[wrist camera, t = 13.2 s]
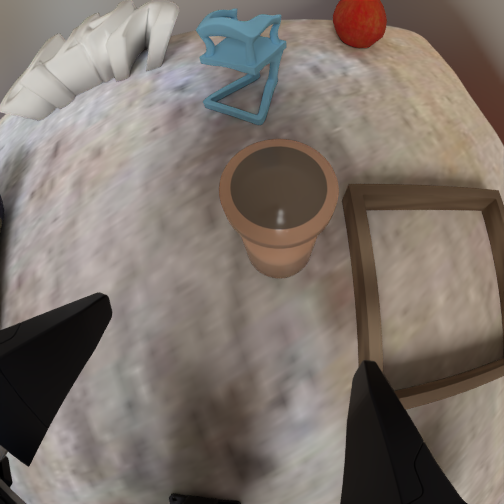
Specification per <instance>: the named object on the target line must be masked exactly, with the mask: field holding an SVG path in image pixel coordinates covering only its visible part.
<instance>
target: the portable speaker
mask: <svg viewBox="0 0 504 504" xmlns="http://www.w3.org/2000/svg"><path fill="white" fill-rule="evenodd" d="M3 218H4V206H3V202H2V198H1V195H0V231H1V226H2V222H3Z"/></svg>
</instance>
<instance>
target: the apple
mask: <svg viewBox="0 0 504 504" xmlns="http://www.w3.org/2000/svg"><path fill="white" fill-rule="evenodd" d="M386 22H387V19H386V14H385V10H384V7H383V5H382V3H381V1H380V0H340V1H339V3H338V4H337V6H336V9H335V11H334V14H333V23H334V26H335V29H336V32H337V34H338V36H339V37H340V39H341V40H342V41H343V42H344V43H346V44H347V45H350V46H352V47H357V48H367V47H370V46H371V45H372V44H374V43H375V42H376V41H378V40H379V39H381V38H382V37H383V35H384V33H385V29H386Z"/></svg>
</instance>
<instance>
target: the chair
mask: <svg viewBox="0 0 504 504" xmlns="http://www.w3.org/2000/svg"><path fill="white" fill-rule="evenodd" d="M225 17H228V18H225ZM229 18H231V19H229ZM280 22H281V15H274V16H270V15H264V14H262V15H258V16H256V17H254V18H253V19H251V20H249V21H238V19H237V9H232V10H218V11H214V12H212V13H210V14H208V15H207V16H206V17H205V18H204V19H203V20H202V22H201V23H200V24H199V26H198V28H197V29H196V31H197V33H198V34H199V36H200V37H201V39H202V40H203V41H204V43H205V44H206V53H204V54H203V55H202V56H200V61H201V64H207V65H213V66H222V67H227V68H231V69H235V70H238V71H240V72H243V73H247V75H245V76H244V77H242V78H240V79H238V80H236V81H234V82H233V83H231V84H229V85H227V86H225V87H223V88H222V89H220V90H218V91H216V92H215V93H213V94H211V95H210V96H208V97H207V98H206V99H205V100H204V101H203V103H204V105H205V107H206V108H208V109H211V110H215V111H218V112H221V113H224V114H227V115H230V116H233V117H236V118H239V119H242V120H245V121H248V122H251V123H254V124H256V125H262V124H263V123H264V121H265V119H266V116H267V113H268V109H269V106H270V102H271V99H272V95H273V92H274V89H275V86H276V84H277V82H278V78H277V74H278V69H279V64H280V60H281V56H282V53H283V50H284V49H285V48H286V41H284V40H279V38H278V29H279V26H280ZM272 24H273V26H272V28H271V31H270V38H268V37H262V36H260V35H261V33H262V32H263V31H264V30H265V29H266V28H267V27H268V26H270V25H272ZM208 36H224V37H226V38H225V39H224V40H223V41H221V42H220V43H219V44H217V45H216V46H215V45H214V43H213V41H212V40H211V39H210V38H209V37H208ZM269 63H270V70H269V76H268V80H267V82H266V85H265V89H264V93H263V97H262V101H261V105H260V109H259V113H258V114H257V115H255V114H252V113H249V112H246V111H243V110H240V109H237V108H234V107H231V106H228V105H224V104H221V103H218V102H216V101H218V100H220V99H222V98H224V97H225V96H227V95H229V94H231V93H233V92H235V91H237V90H239V89H241V88H242V87H244V86H246V85H248V84H250V83H252V82H254V81H255V80H257V79H258V78H259V77H260V72H259V71H260V70H262V69H263V67H264V66H266V65H268V64H269Z"/></svg>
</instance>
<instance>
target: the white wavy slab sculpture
mask: <svg viewBox="0 0 504 504" xmlns="http://www.w3.org/2000/svg"><path fill="white" fill-rule="evenodd" d="M178 14H179V7H178V5H177V4H175V3H174V2H171V1H167V0H151V1H149V2H147V3H145V4H144V5H142V6H140V7H139V8H136V7H135V5H134V4H133V0H125V1H123V2H120V3H119V4H118V5H117V7H116V8H115V9H114V11H112V12H109V13H107V14H105V15H103V16H101V17H100V15H99V13H98V14H97V13H96V14H93V15H92V16H89V17H88V18H86V19H85V20H84V21H83V22H82V24H81V25H80V26H78V27H77V28H75V29H73V31H72V33H71V35H70V36H69V38H68V39H67V41H65V39H64V38H63V37H62V35H61V34H56V35H54V36H53V37H51V38H50V39H49V40H47V41H46V42H45V43H44V45H43V46H42V48H41V49H40V50H39V52H38V53H37V54H36V56H35V57H34V59H33V60H32V62H31V63H30V65H29V67H28V69H26V71H25V72H24V73H23V74H22V75H21V76H20V77H19V78H18V79H17V81H16V82H15V83H14V84H13V86H12V87H11V88H10V90H9V91H8V93H7V94H6V96H5V97H4V99H3V101H2V102H1V104H0V112H1V113H6V114H11V115H15V116H20V117H24V118H28V119H33V120H37V121H40V120H43V119H44V118H46V117H47V116H49V115H50V114H51V113H52V112H53V111H54V110H55V109H56V108H59V109H62V108H64V107H66V106H67V105H69V104H70V103H71V102H72V101H74V99H75V97H76V95H78V94H81V93H83V92H85V91H88V90H90V89H92V88H94V87H96V86H98V85H100V84H101V83H102V82H109V81H110V80H111V79H112V78H114V77H115V79H116V82H119V81H122V80H125V79H127V78H129V75H130V71H131V68H132V65H133V63H134V62H135V60H136V58H137V57H138V56H139V54H140V53H141V52H142V51H143V50H144V49H145V48H146V49H147V50H148V58H147V67H146V71H149V70H153V69H156V68H158V67H161V65H162V62H163V59H164V56H165V52H166V49H167V46H168V43H169V40H170V37H171V34H172V31H173V28H174V25H175V23H176V20H177V17H178Z"/></svg>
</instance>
